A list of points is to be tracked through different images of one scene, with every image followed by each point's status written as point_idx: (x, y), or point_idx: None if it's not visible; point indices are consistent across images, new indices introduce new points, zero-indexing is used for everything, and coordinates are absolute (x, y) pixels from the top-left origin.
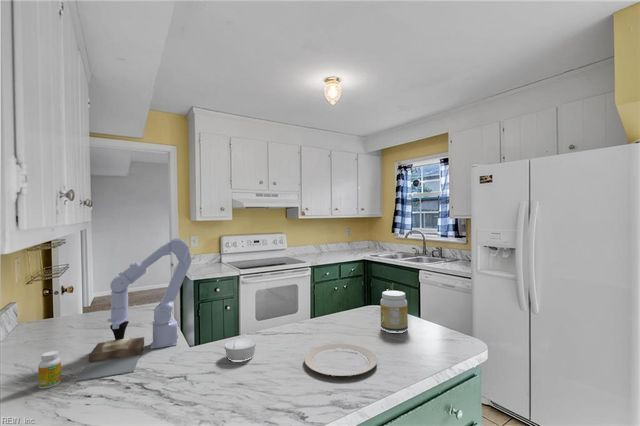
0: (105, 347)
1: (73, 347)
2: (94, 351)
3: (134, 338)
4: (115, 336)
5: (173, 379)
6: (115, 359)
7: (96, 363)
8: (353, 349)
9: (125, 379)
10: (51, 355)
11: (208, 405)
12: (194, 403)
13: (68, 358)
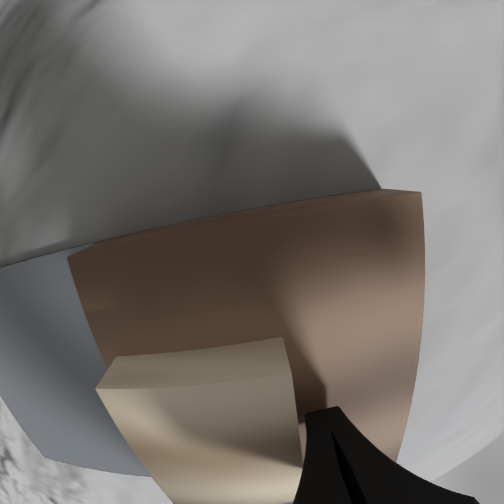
0: (110, 402)
1: (452, 10)
2: (144, 269)
3: (396, 446)
4: (304, 467)
5: (47, 500)
6: None
7: (75, 309)
8: None
9: (8, 433)
10: None
11: (9, 498)
12: (5, 491)
13: (255, 16)
